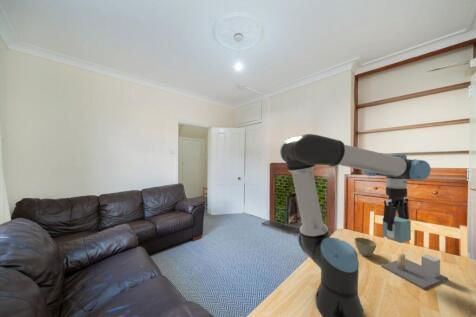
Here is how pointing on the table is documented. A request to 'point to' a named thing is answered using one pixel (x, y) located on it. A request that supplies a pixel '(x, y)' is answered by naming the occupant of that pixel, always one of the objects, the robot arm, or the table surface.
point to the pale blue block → (399, 230)
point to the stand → (417, 270)
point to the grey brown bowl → (365, 246)
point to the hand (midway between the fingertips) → (396, 235)
